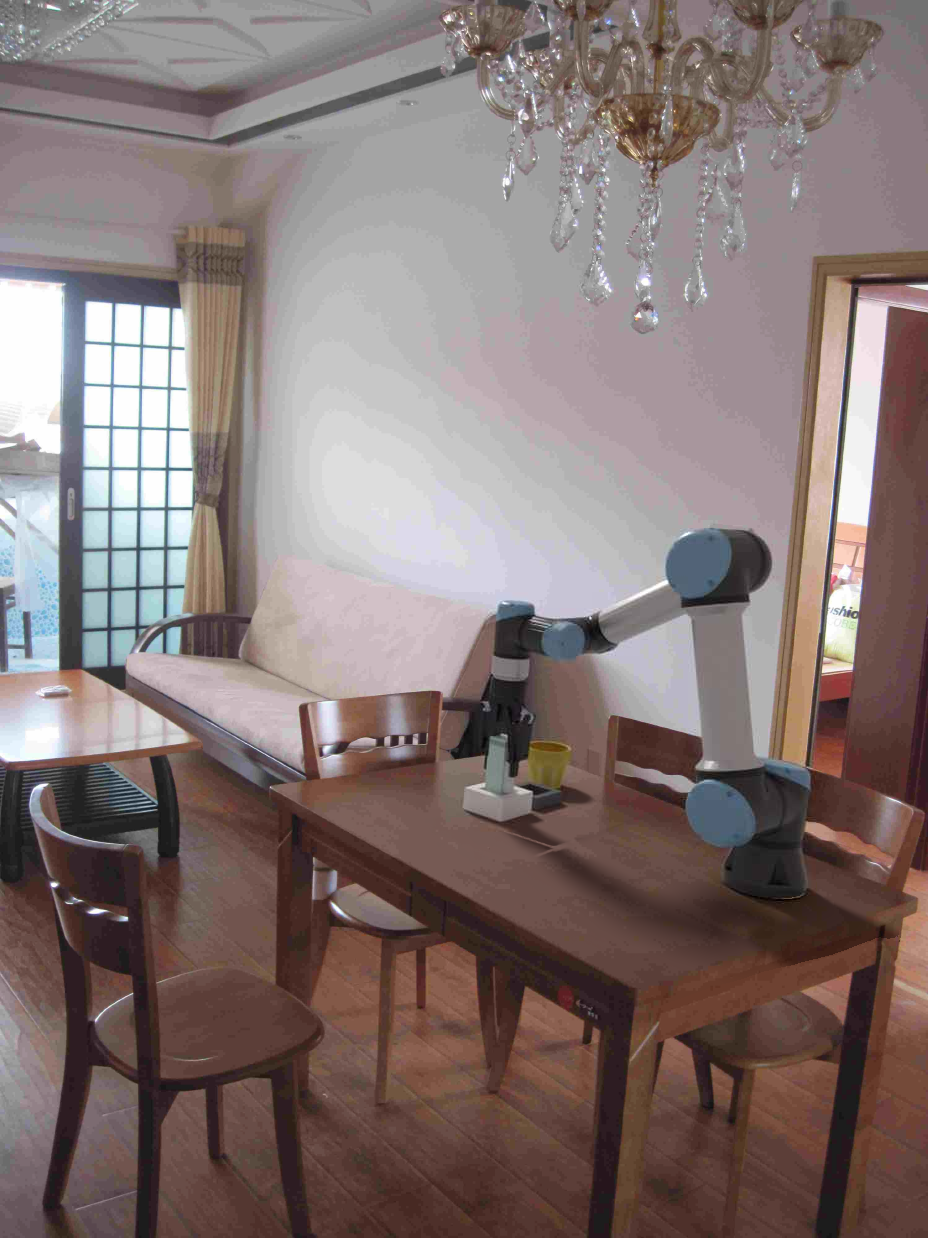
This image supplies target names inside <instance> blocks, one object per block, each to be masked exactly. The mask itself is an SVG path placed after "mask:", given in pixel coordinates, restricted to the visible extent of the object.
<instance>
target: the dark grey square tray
mask: <svg viewBox="0 0 928 1238" xmlns="http://www.w3.org/2000/svg"><path fill="white" fill-rule="evenodd" d="M514 786H516V787H520V788H523V789H526V790H529V791H533V796H532V807H531V810H534V811H538V810H542V809H545V808H548V807H551V806H555V805H559V804H561V803H562V800H563V797H562V796H563V791H562V790H559V789H553V788H550V787H547V786H543V785H540V784H537V783H533V782H530V780H527V781H525V782H521V783H516V784H514Z"/></svg>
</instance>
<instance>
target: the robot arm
mask: <svg viewBox="0 0 928 1238" xmlns="http://www.w3.org/2000/svg"><path fill="white" fill-rule="evenodd" d="M664 567H665V568H664V569H665V571H664V572H665V577H666V579H665V580H663V581H661V582H660V581H659V582H658V583H655V584H653V585H652V586H650V587H648V588H645V589H643V590H641V591H639V592H637V593H634V594H633V595H630V596H628V597H627V598H624V599H622V600H621V601H618V602H615V603H614V604H611V605H609V606H608V607H605V608H603V609H602V610H600V611H597V612H595V613H593V614H591V615H588V616H582V617H581V616H579V617H567V618H562V617H561V618H551V617H546V616H544V617H543V616H539V615H537V614H536V612H535V610H536V609H535V607H536V606H535V605H534V603H530V602H528V601H523V600H522V601H521V600H511V599H510V600H502V601H500V602H499V604H498V606H497V610H496V611H497V612H496V616H495V620H494V621H495V628H494V643H493V652H492V663H491V670H490V673H491V674H492V676H491V677H490V684H489V694H490V697H489V699H488V701H487V700H486V701H481V702H478V703H477V709H478V714H479V715H478V728H477V729H478V731H477V733H478V734H477V749H478V750H479V751H482V753H483V754H484V761H483V762H484V764H483V768H484V770H485V778H484V779H485V780H484V783H485V787H486V777H487V766H488V755H489V744H490V743H489V740H490V736H495V735H500V734H502V733H501V732H502V729H503V726H504V727H505V728H506V735H507V737H508V752H509V759H508V760H507V761H506V762H505V773H504V784H503V793H508V792H512V791H514V785H515V780H516V778H517V777H518V775H519V766H520V762H522V761H526V759H528V755H529V748H530V742H531V739H532V738H531V737H532V730H533V724H534V722H535V720H536V718H537V715H536V713H535V712H534V713H533V712H532V713H531V712H529V711H528V710H527V709H526V703H525V699H526V698H527V694H528V692H527V690H528V685H529V684H528V679H527V678H528V677H529V670H530V659H531V654H534V655H539V656H542V657H546V658H549V659H553V660H556V661H560V660H561V661H567V662H570V661H574V660H575V659H576V658H577V657H579V656H581V655H595V654H596V655H600V654H604V653H607V652H611V651H614V650H615V649H616V648H617V647H618V646H619V645H620V644H621V643H622V642H625V641H627V640H630V639H632V638H634V637H636V636H639V635H640V634H643V633H645V632H647V631H649V630H652V629H655V628H657V627H659V626H662V625H663V624H666V623H669V622H670V621H671V622H672V621H673V620H676V619H678V618H680V617H682V616H684V615H685V616H686V615H687V616H688V617H689V618H690V621H691V622H690V623H691V630H692V632H691V633H692V642H693V654H694V655H693V656H694V665H695V666H694V667H695V677H696V687H697V688H696V689H697V698H698V699H697V701H698V711H699V722H700V723H699V724H700V733H701V743H702V744H701V745H702V758H701V760H700V761H699V762H698V763H697V764H696V765H695V769H694V770H695V781H696V784H694V785H693V787H692V788H691V790H690V792H689V793H688V794H687V797H686V799H685V800H686V801H685V812H686V817H687V820H688V822H689V824H690V826H691V828H692V829H693V831H694V832H695V834H697V835H699V837H700V838H701V839H702V840H703V841H704V842H706V843H707V844H709V845H711V846H714V847H717V848H718V847H719V848H730V849H729V851H728V853H727V856H726V857H725V859H724V861H723V863H722V867H721V875H720V879H721V881H722V883H723V884H725V885H726V886H727V887H729V888H730V889H733V890H735V891H737V892H739V893H741V892H742V894H744V893H745V894H744V895H748V894H749V895H748V896H751V895H753V896H752V897H755V896H758V897H757V898H760V897H766V898H778V899H780V898H781V899H782V898H791V897H797V896H800V895H802V894H803V893H805V892H806V893H807V890H808V889H807V888H808V876H807V869H806V866H805V860H804V856H803V839H804V834H805V827H806V819H807V813H808V812H807V811H808V805H809V798H810V797H809V796H810V792H811V786H810V785H811V773H810V771H809V770H808V769H807V768H805V767H803V766H801V765H799V764H798V765H797V764H795V763H792V762H789V761H784V760H780V759H776V758H770V757H765V756H764V757H763V756H758V755H756V753H755V749H754V748H755V747H754V738H753V737H754V736H753V726H752V714H751V713H752V712H751V701H750V691H749V680H748V670H747V658H746V649H745V647H746V646H745V645H746V644H745V637H744V635H745V634H744V625H743V624H744V623H743V614H744V613H745V611H746V610H747V608H748V607H749V606H750V605H751V601H750V600H751V599H750V594H752V593H754V592H756V591H757V590H759V589H760V588H762V587H763V586H764V585H765V584H766V583H767V581H768V580H769V577H770V576H771V573H772V569H773V555H772V553H771V549H770V548H769V546H768V544H767V542H765V540H764V539H763V538H762V537H760V536H759V535H757V534H756V533H754V532H752V531H749V530H745V529H728V528H727V529H726V528H714V527H709V528H708V527H707V528H706V527H705V528H701V529H700V528H699V529H692V530H690V531H687V532H684V533H683V534H681V535H680V536H679V537H678V538H676V540H675V541H674V542H673V544H672V545H671V546H670V548H669V550H668V552H667V556H666V559H665V565H664ZM806 889H807V890H806Z"/></svg>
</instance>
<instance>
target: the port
mask: <svg viewBox="0 0 928 1238" xmlns="http://www.w3.org/2000/svg"><path fill="white" fill-rule="evenodd" d="M485 788H486V787H485V782H482V783H477V784H474V785H469V786H466V787H464V790H463V791H464V795H463V804H462V809H463V810H465V811H467V812H471V813H473V814H475V815H476V814H477V815H479V816H483V817H485V818H488V819H491V820H494V821H498V822H506V821H508V820H512V819H515V818H519V817H522V816H526V815H528V814H531V813H532V809H531V807H532V796H533V791H529V790H526V789H523V788H520V787H516V786H514V791H513V792H512V793H509V794H506V795H502V796H501V795H498V794H495V793H491V792H488V791H485Z"/></svg>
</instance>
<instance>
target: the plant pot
mask: <svg viewBox="0 0 928 1238" xmlns="http://www.w3.org/2000/svg"><path fill="white" fill-rule="evenodd" d="M571 756H572V748H571V747H570V746H569V745H568V744H567V745H566V744H564V743H562V742H561V743H559V742H555V741H545V740H535V741H530V748H529V755H528V759H526V760H525V761H527V767H528V775H529V781H530V782H533V783H537V784H540V785H543V786H547V787H550V788H553V789H556V790H558V789H560V788H561V786H562V782H563V780H564V776H565V772H566V770H567V765H570V763H571V758H572V757H571Z"/></svg>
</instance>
